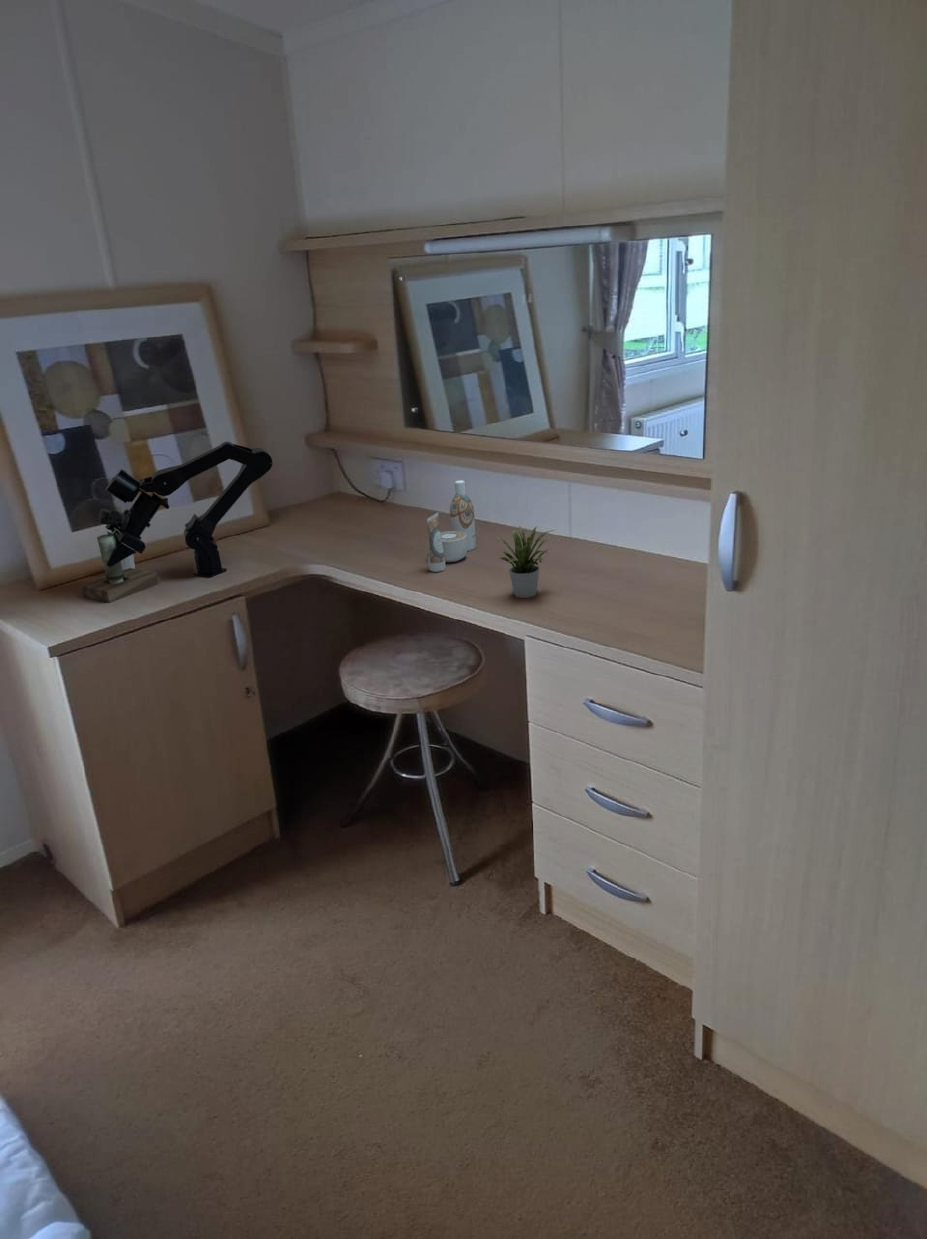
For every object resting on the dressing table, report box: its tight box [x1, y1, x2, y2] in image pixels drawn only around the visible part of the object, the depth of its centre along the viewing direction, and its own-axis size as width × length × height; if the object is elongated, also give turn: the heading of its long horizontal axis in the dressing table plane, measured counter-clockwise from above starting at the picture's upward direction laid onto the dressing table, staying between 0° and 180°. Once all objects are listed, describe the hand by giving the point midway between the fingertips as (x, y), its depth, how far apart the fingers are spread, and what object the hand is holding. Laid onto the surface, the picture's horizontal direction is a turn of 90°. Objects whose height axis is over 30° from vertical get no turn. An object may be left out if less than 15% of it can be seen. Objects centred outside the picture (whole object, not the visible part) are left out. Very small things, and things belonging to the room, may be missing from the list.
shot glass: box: [121, 554, 136, 570], centre depth 244 cm, size 7×7×7 cm
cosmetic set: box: [426, 480, 477, 573], centre depth 232 cm, size 25×9×19 cm, turn 157°
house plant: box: [493, 525, 555, 599], centre depth 204 cm, size 14×14×16 cm
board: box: [80, 568, 159, 603], centre depth 230 cm, size 11×15×3 cm
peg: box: [96, 533, 124, 585], centre depth 227 cm, size 4×4×14 cm
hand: (106, 564), depth 226 cm, fingers closed on peg, 4 cm apart
